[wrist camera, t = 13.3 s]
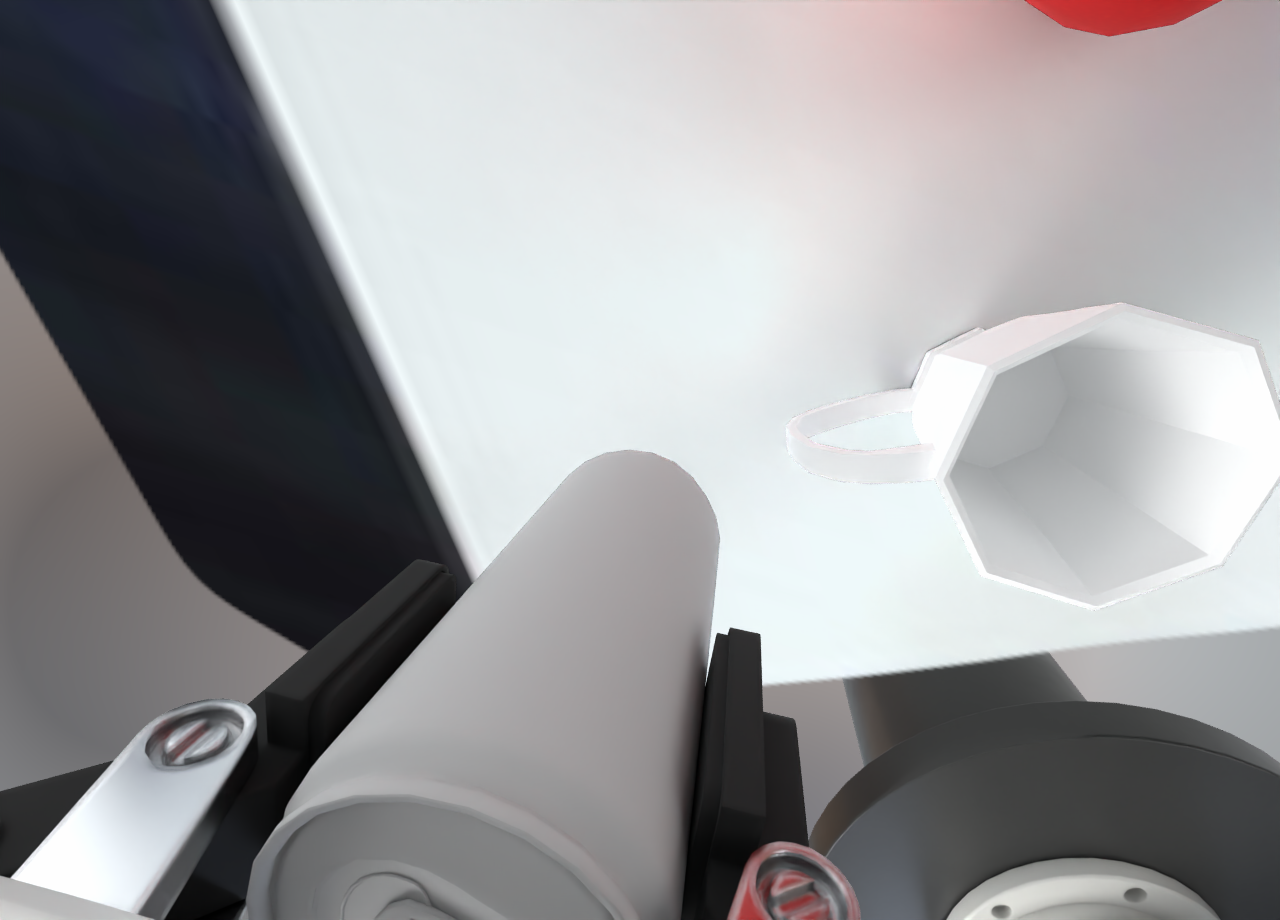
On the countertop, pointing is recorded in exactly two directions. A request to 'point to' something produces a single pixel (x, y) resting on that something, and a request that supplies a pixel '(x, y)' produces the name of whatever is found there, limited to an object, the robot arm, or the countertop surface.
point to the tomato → (1119, 13)
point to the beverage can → (527, 730)
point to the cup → (1079, 447)
